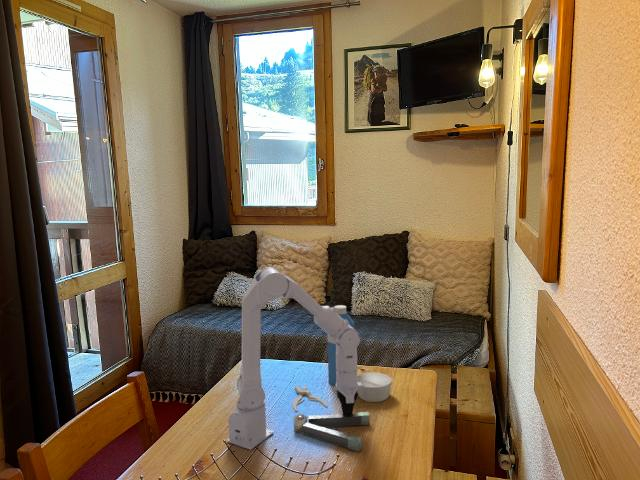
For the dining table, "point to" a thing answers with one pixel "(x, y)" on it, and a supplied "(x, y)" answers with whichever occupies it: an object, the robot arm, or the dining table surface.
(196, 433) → the dining table surface
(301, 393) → the pliers
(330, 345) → the water bottle
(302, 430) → the tongs frame
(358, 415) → the arm
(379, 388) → the ramekin
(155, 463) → the dining table surface
